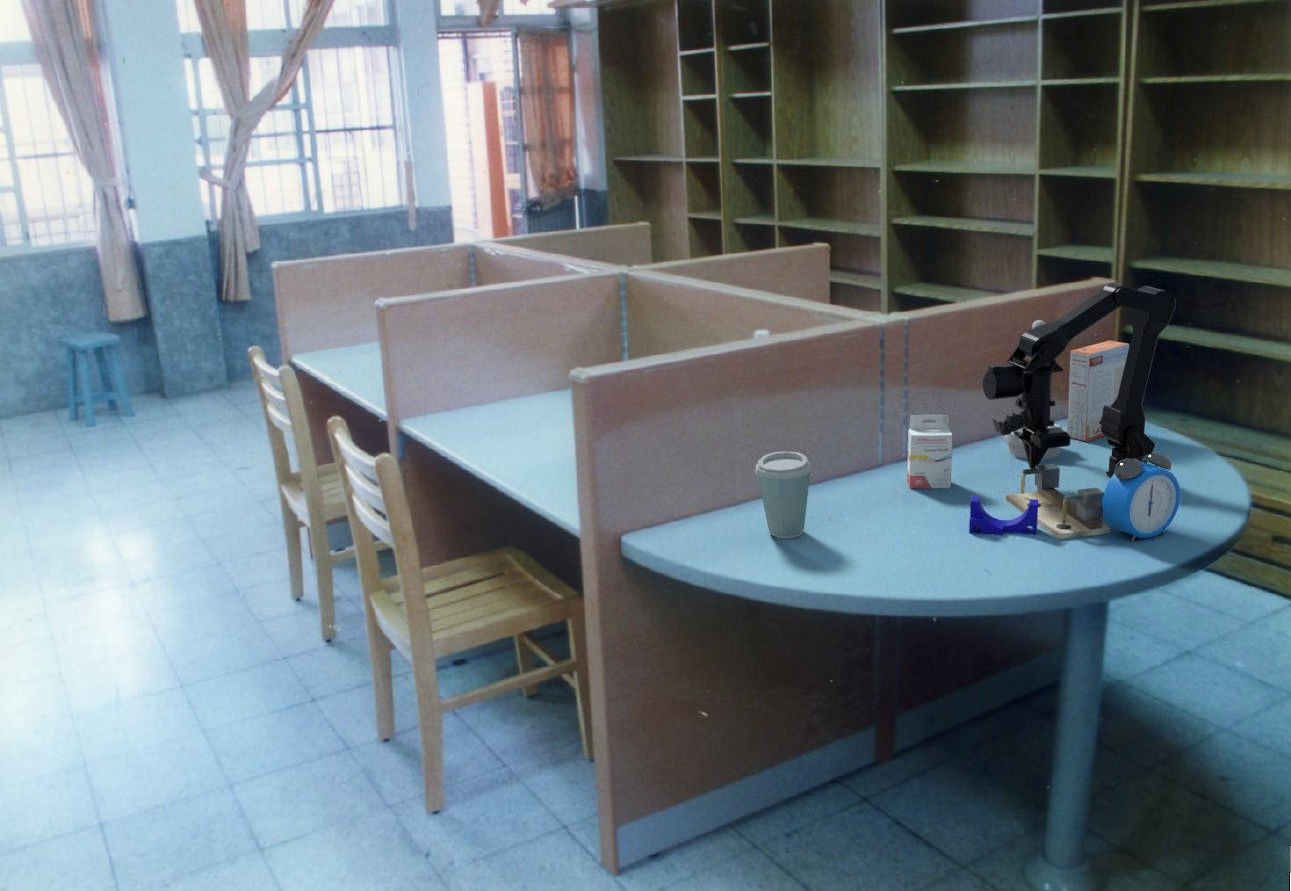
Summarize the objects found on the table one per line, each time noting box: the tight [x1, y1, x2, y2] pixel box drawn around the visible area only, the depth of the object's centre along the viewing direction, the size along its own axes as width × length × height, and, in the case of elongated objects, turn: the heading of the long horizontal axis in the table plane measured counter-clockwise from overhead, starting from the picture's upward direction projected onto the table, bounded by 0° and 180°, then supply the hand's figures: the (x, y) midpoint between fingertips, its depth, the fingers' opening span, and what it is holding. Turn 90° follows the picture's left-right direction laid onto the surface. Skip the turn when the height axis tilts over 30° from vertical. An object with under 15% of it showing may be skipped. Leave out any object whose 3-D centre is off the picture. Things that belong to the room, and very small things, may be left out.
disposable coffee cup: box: [754, 450, 813, 540], centre depth 225 cm, size 11×11×15 cm
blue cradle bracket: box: [968, 495, 1038, 536], centre depth 221 cm, size 12×4×6 cm, turn 72°
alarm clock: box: [1103, 452, 1181, 542], centre depth 215 cm, size 13×6×15 cm, turn 113°
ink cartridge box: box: [906, 414, 953, 489], centre depth 246 cm, size 9×5×15 cm, turn 84°
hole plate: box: [1005, 486, 1111, 540], centre depth 227 cm, size 10×22×8 cm, turn 8°
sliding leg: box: [1020, 463, 1061, 494], centre depth 235 cm, size 7×3×5 cm, turn 98°
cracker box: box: [1066, 340, 1130, 443], centre depth 272 cm, size 14×6×21 cm, turn 123°
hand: (1032, 468), depth 241 cm, fingers closed
